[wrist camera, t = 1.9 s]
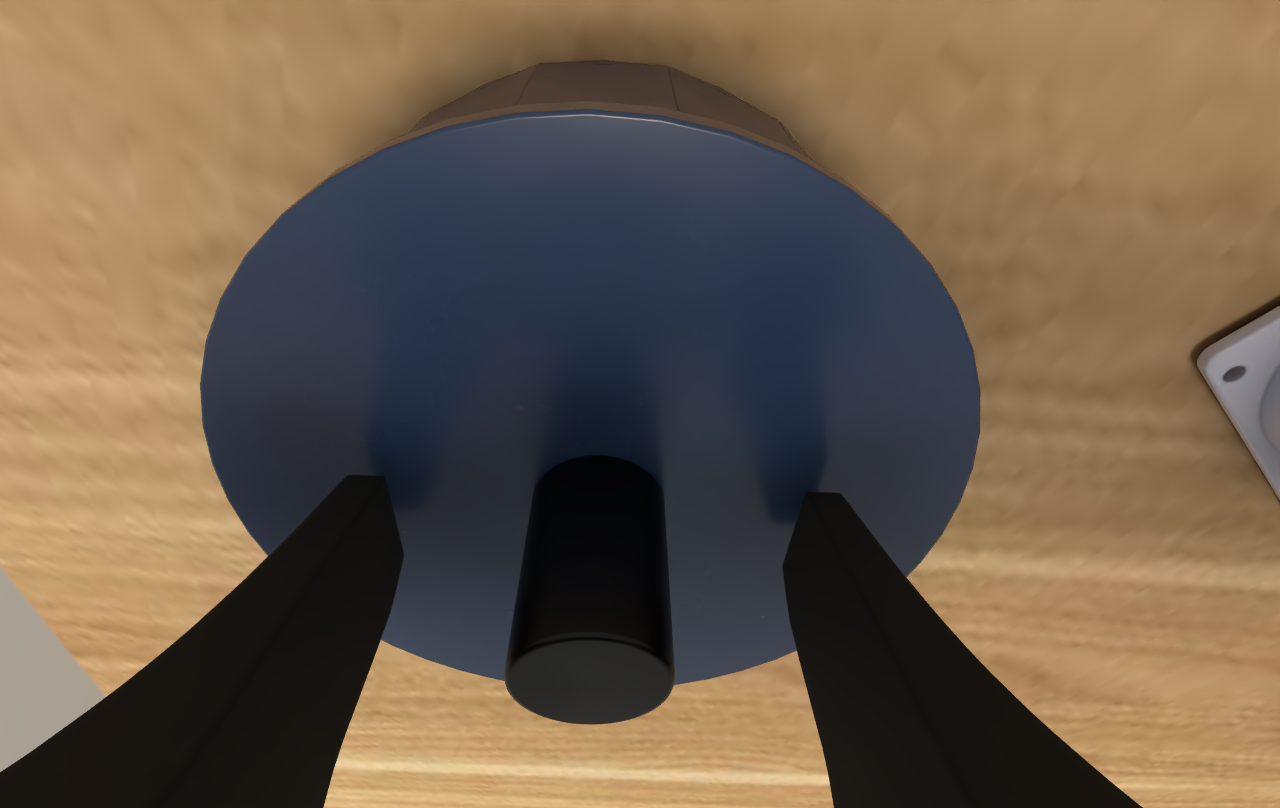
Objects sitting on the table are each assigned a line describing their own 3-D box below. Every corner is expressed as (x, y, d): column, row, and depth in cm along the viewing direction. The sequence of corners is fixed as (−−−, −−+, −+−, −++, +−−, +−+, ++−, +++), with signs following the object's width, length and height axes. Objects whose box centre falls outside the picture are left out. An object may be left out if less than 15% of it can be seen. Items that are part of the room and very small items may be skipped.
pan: (965, 208, 15) (1103, 335, 10) (710, 541, 22) (730, 699, 17) (412, -65, 11) (283, -43, 7) (322, 430, 18) (229, 590, 14)
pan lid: (1128, 303, 11) (1387, 510, 7) (735, 690, 18) (761, 888, 14) (262, -119, 7) (-110, -140, 4) (217, 575, 15) (82, 796, 11)
